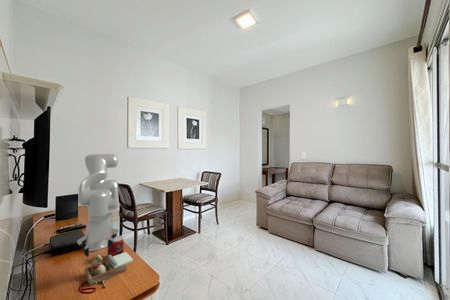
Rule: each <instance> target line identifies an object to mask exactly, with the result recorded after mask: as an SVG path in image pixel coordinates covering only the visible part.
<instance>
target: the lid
mask: <svg viewBox="0 0 450 300" xmlns="http://www.w3.org/2000/svg"><path fill="white" fill-rule="evenodd" d="M107 260H109V262H110V263H111V264H112V266H113V267H114V268H117V267H119V266H122V265H124V264H125V265H127V264H129V263H132V262H133V261H134V259H133V258H132V256H130V255H129V254H128V252H126V251H125V252H124V251H123V253H122V254H119V255H116V256H113V257H112V256H111V255H108V254H107Z"/></svg>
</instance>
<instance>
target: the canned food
mask: <svg viewBox="0 0 450 300" xmlns="http://www.w3.org/2000/svg"><path fill="white" fill-rule="evenodd" d="M108 240H109V239H107V241H108ZM122 253H124V236H123V235H117V236H116V237H115V238H114V240H113V246H112V249H109V247H108V246H107V256H108V255H111V256H112V257H113V256H116V255H119V254H122Z"/></svg>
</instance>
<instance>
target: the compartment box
mask: <svg viewBox="0 0 450 300" xmlns="http://www.w3.org/2000/svg"><path fill="white" fill-rule="evenodd" d="M101 264H102V265H104V266H105V268H106V271H107V272H104V273H102V274H99V275H97V276H93V275H92V274H93V272H92V268H93V267H92V265H91V266H89V267H85V268H84V277H85V278H86V282H87V283H88V285H89V287H92V286H94V285H95V284H94V283H96V282H98V281H100V280H104V281H106V280H109V279H110V278H113V277H115V276H117V275H120V274H122V273H125V272H127V270H126V269H127V267H126V265H127V264H124V265H122V266H119V267H117V268H114V267H113V266H112V264H111V263H110V262H109V260H108V259H107V260H104V261H101ZM93 284H94V285H93Z"/></svg>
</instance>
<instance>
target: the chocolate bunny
mask: <svg viewBox="0 0 450 300" xmlns="http://www.w3.org/2000/svg"><path fill="white" fill-rule="evenodd" d="M101 262H103V257H102V256H101V255H100V254H97V255H96V256H95V258H93V259H92V260H91V266H92V267H93V268H92V272H93V274H92V275H93V276H97V275H99V274H102V273H104V272H107V271H106V268H105V266H104V265H102V264H101Z"/></svg>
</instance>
